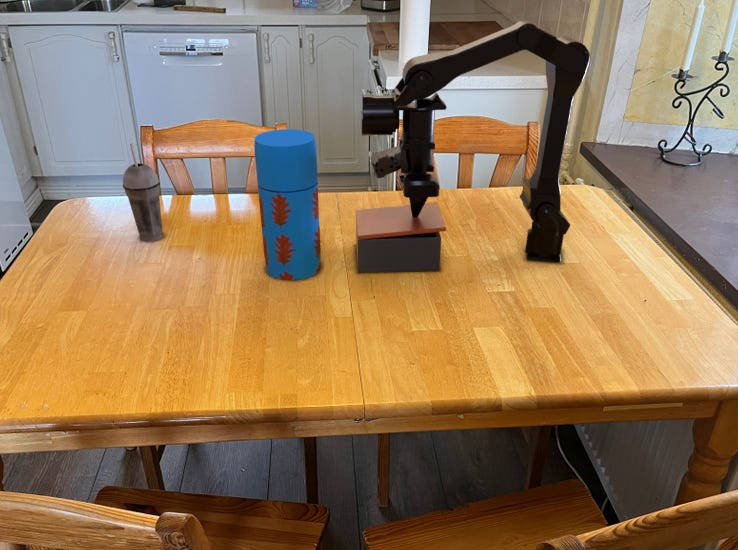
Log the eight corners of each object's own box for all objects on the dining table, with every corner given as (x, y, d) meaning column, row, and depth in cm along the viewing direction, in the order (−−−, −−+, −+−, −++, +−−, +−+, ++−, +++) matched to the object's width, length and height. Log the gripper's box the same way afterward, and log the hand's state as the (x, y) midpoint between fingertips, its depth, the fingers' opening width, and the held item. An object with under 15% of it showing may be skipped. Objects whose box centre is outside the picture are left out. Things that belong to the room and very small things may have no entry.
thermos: (312, 283, 128) (305, 148, 114) (257, 277, 130) (244, 144, 116) (327, 258, 137) (322, 130, 123) (275, 253, 138) (265, 127, 124)
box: (431, 243, 142) (433, 212, 138) (439, 271, 132) (441, 238, 128) (356, 245, 142) (355, 214, 138) (358, 272, 131) (357, 240, 127)
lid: (437, 205, 138) (437, 202, 137) (446, 231, 127) (445, 227, 127) (356, 213, 138) (355, 210, 137) (357, 239, 127) (357, 235, 127)
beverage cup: (173, 230, 148) (158, 137, 137) (162, 244, 142) (144, 148, 131) (141, 229, 149) (122, 136, 138) (128, 243, 143) (107, 147, 132)
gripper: (370, 121, 131) (370, 199, 140) (375, 151, 115) (375, 237, 124) (429, 120, 131) (425, 198, 140) (441, 149, 116) (437, 236, 124)
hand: (415, 216), depth 132 cm, fingers closed
